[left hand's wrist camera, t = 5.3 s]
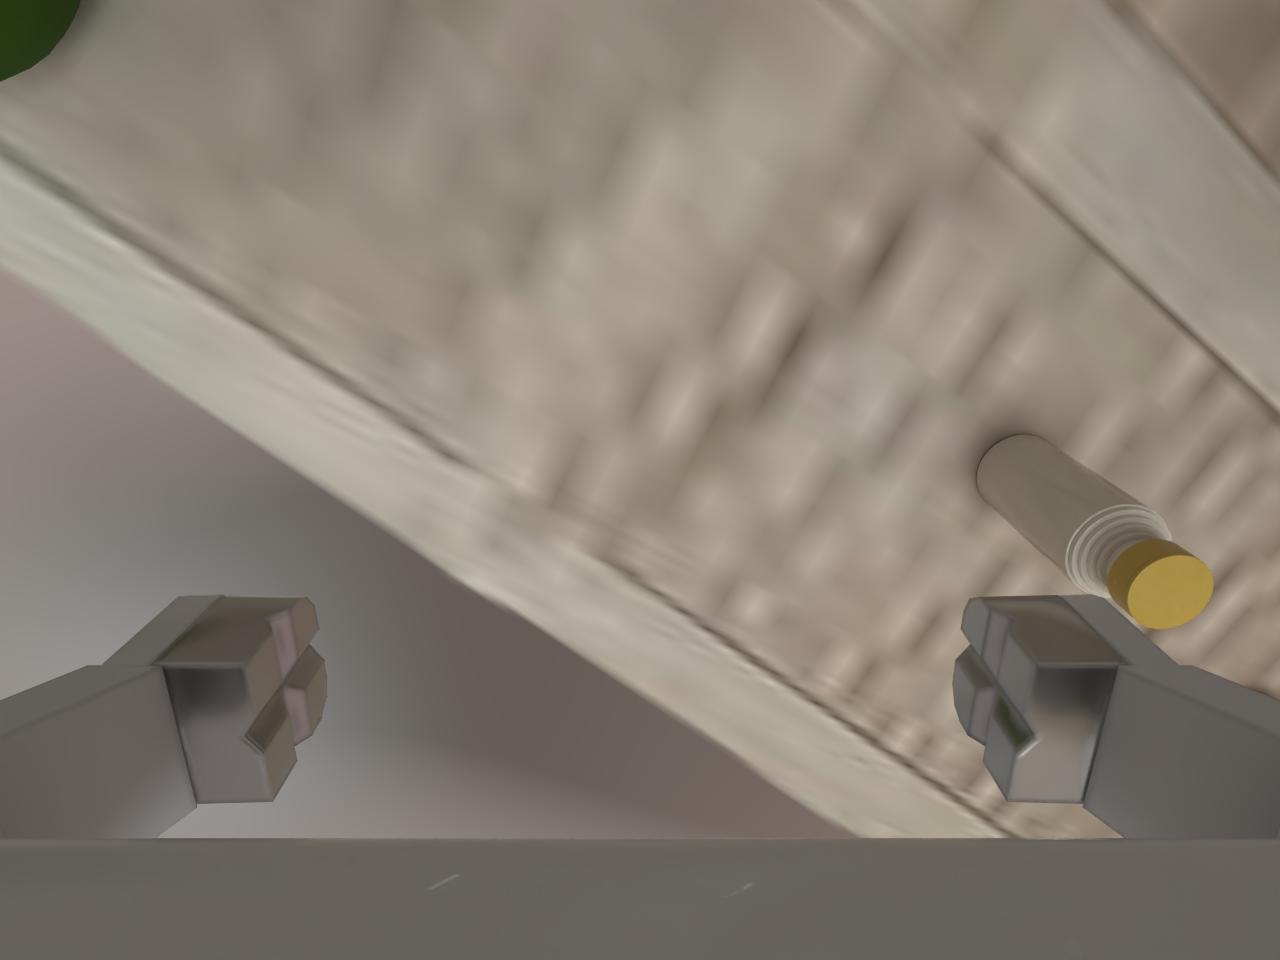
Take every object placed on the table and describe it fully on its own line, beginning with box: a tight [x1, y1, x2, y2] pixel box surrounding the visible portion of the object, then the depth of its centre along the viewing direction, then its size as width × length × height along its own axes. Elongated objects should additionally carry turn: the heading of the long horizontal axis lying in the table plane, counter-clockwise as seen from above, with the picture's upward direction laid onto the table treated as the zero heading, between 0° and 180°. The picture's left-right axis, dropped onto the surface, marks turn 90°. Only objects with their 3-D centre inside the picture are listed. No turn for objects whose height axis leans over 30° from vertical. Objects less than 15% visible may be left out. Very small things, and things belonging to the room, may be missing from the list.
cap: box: [1107, 539, 1213, 629], centre depth 44 cm, size 4×4×2 cm
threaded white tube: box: [976, 434, 1172, 598], centre depth 52 cm, size 6×6×18 cm
